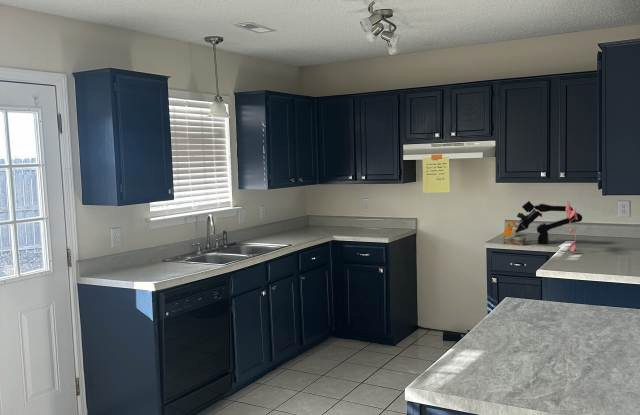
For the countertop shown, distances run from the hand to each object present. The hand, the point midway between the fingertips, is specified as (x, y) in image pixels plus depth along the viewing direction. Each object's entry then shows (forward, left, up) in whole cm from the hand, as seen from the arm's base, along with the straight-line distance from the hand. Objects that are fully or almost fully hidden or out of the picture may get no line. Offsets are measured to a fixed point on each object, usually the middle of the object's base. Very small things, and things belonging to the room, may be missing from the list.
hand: (515, 231), depth 452 cm
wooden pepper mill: (+1, 0, -9) cm, 9 cm away
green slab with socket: (-1, +3, -9) cm, 9 cm away
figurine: (-42, +20, -9) cm, 47 cm away
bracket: (+14, -27, -9) cm, 31 cm away
